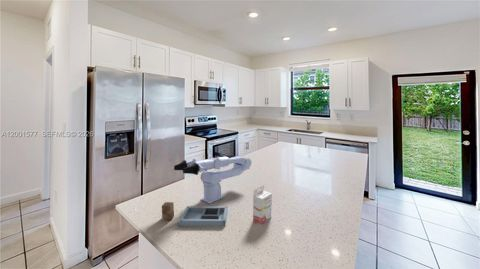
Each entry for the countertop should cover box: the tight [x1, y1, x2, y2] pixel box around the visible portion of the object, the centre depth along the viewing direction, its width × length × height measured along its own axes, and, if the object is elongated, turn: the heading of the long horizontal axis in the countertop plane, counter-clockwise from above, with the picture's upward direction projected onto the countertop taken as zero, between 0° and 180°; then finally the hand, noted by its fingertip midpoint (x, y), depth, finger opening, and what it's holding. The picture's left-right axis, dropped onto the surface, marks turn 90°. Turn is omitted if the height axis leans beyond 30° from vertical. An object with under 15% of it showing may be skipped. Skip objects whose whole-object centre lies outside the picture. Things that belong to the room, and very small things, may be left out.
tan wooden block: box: [161, 201, 175, 222], centre depth 97 cm, size 4×4×7 cm
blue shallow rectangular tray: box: [178, 206, 229, 227], centre depth 97 cm, size 20×13×3 cm, turn 89°
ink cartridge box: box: [252, 184, 273, 225], centre depth 95 cm, size 9×5×15 cm, turn 141°
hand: (178, 169), depth 100 cm, fingers open, 7 cm apart
